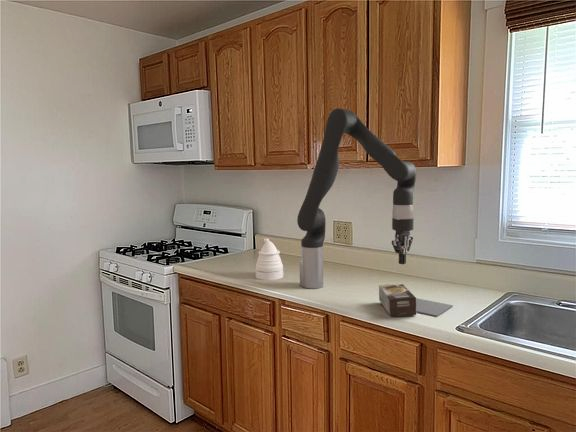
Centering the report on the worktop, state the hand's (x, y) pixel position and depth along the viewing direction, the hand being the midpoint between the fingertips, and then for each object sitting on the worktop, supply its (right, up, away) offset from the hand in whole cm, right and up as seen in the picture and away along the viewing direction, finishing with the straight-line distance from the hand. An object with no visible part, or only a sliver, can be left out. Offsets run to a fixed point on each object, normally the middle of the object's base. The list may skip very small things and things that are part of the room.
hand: (402, 263), depth 163 cm
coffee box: (-4, -11, +2) cm, 11 cm away
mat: (+7, -15, -4) cm, 17 cm away
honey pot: (-51, -11, +44) cm, 68 cm away
